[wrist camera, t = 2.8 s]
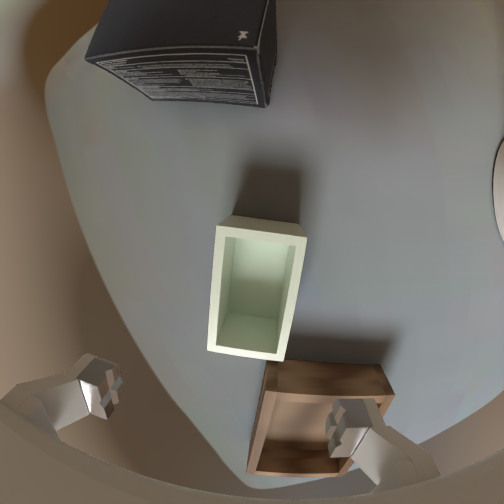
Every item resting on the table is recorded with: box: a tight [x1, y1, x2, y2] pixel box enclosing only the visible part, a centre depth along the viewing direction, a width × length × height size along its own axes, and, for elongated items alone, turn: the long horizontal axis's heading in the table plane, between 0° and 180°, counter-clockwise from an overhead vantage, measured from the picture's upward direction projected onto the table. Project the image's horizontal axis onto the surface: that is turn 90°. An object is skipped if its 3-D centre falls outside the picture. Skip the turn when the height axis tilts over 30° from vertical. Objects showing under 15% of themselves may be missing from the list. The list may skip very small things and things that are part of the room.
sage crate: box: [207, 215, 307, 362], centre depth 21 cm, size 6×9×6 cm, turn 173°
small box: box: [84, 0, 277, 108], centre depth 15 cm, size 11×6×10 cm, turn 81°
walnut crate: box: [246, 359, 395, 477], centre depth 25 cm, size 12×15×5 cm
